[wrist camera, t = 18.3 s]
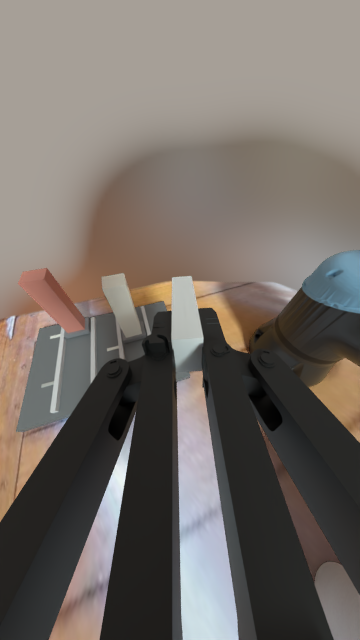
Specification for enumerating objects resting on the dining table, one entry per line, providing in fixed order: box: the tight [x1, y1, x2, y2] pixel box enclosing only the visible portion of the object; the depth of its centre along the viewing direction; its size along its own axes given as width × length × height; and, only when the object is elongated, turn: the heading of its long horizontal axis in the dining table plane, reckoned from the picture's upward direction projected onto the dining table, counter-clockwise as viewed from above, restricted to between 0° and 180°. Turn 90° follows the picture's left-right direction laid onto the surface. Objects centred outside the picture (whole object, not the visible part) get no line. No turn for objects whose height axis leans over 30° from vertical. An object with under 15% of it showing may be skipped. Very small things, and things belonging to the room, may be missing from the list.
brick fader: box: [18, 268, 91, 339], centre depth 32 cm, size 5×4×15 cm
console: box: [16, 301, 190, 432], centre depth 36 cm, size 30×21×2 cm
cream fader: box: [102, 273, 146, 343], centre depth 31 cm, size 5×4×15 cm
